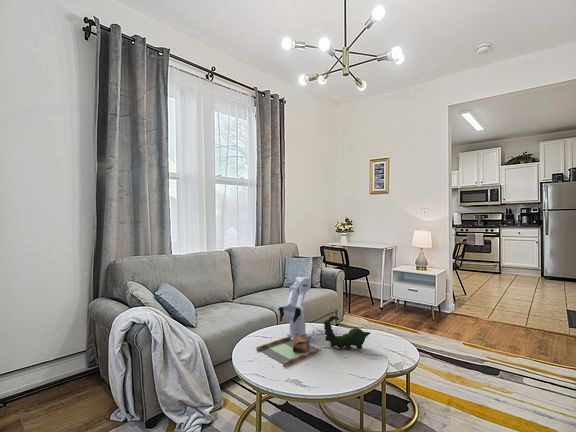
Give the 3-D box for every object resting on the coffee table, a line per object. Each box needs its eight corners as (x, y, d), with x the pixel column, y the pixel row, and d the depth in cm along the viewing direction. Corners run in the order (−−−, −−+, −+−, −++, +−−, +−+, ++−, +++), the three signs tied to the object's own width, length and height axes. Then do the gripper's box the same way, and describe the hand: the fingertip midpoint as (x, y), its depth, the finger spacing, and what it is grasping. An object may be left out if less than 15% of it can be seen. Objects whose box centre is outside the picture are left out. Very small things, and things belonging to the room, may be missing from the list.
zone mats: (295, 338, 193) (295, 338, 193) (321, 350, 176) (321, 350, 176) (259, 350, 176) (259, 350, 176) (284, 365, 159) (284, 365, 159)
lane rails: (289, 339, 192) (289, 335, 192) (318, 352, 173) (318, 348, 173) (256, 350, 176) (256, 346, 176) (284, 366, 158) (284, 362, 158)
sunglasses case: (308, 352, 172) (302, 341, 172) (297, 358, 172) (291, 348, 173) (309, 339, 190) (303, 329, 190) (298, 345, 190) (292, 335, 191)
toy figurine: (326, 354, 175) (373, 351, 173) (323, 319, 175) (370, 316, 173) (326, 346, 185) (370, 344, 182) (323, 313, 185) (367, 311, 182)
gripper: (279, 296, 189) (273, 315, 179) (303, 298, 186) (299, 317, 175) (281, 304, 193) (275, 323, 182) (304, 306, 190) (300, 325, 179)
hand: (287, 321), depth 179 cm, fingers open, 7 cm apart
